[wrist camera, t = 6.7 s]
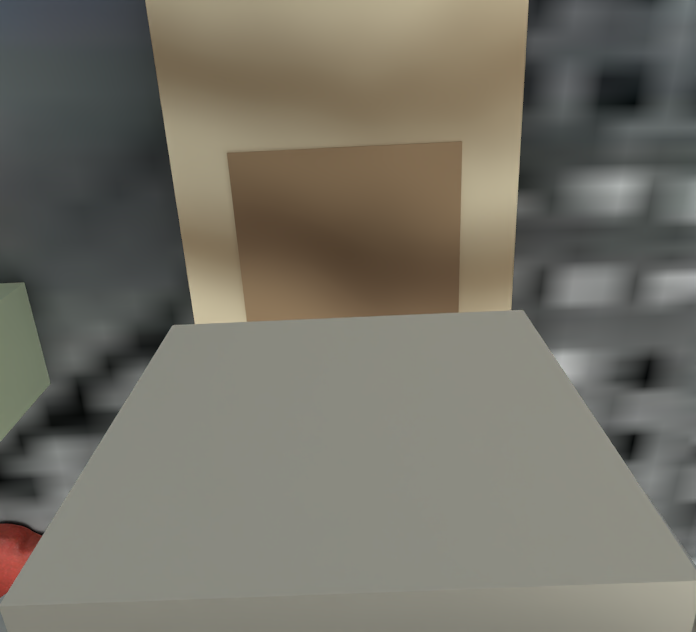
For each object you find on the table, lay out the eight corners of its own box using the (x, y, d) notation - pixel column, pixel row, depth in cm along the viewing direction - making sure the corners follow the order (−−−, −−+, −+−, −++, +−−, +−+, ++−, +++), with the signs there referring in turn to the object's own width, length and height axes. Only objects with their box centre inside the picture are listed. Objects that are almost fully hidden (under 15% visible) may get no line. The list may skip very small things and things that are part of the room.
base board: (149, -40, 21) (137, -45, 20) (522, -60, 21) (533, -66, 19) (224, 471, 29) (219, 489, 27) (495, 460, 28) (502, 478, 27)
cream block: (172, 325, 11) (-2, 606, 6) (522, 309, 11) (703, 580, 5) (216, 588, 13) (125, 972, 8) (505, 578, 13) (618, 958, 8)
